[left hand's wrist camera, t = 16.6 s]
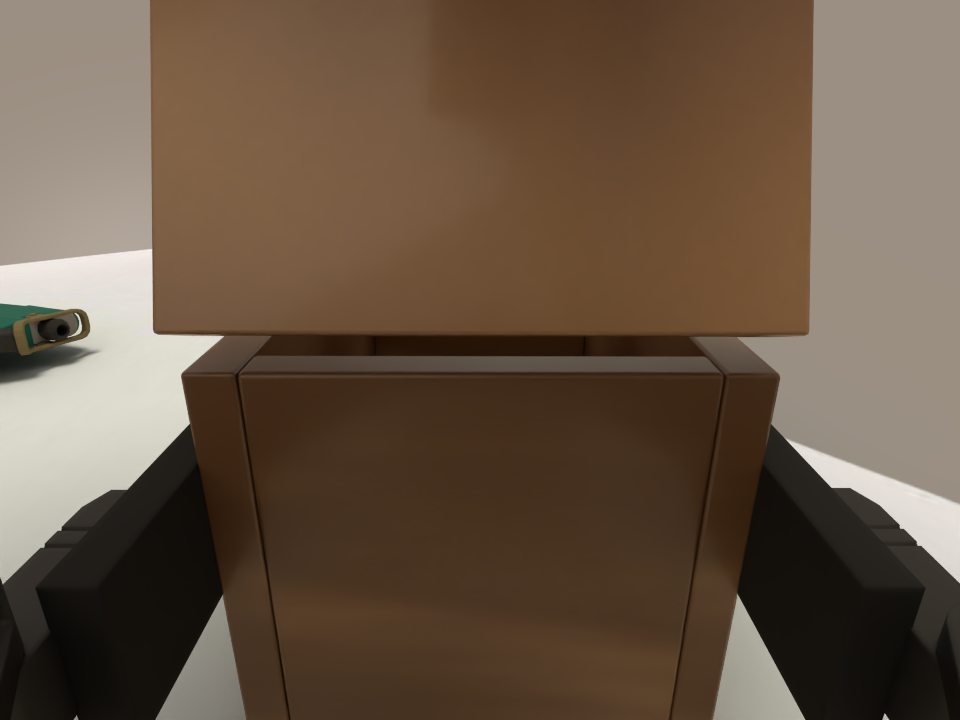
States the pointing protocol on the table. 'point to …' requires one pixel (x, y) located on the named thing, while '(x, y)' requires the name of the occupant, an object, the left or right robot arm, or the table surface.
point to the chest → (479, 521)
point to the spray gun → (38, 327)
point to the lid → (481, 167)
